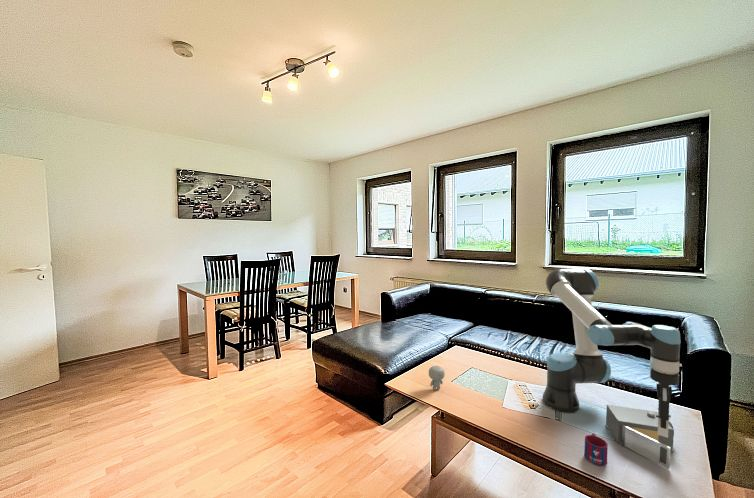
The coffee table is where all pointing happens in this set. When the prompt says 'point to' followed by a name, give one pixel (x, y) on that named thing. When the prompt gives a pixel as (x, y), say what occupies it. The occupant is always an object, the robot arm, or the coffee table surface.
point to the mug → (596, 450)
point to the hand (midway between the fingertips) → (662, 435)
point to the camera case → (636, 423)
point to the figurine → (436, 376)
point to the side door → (646, 446)
